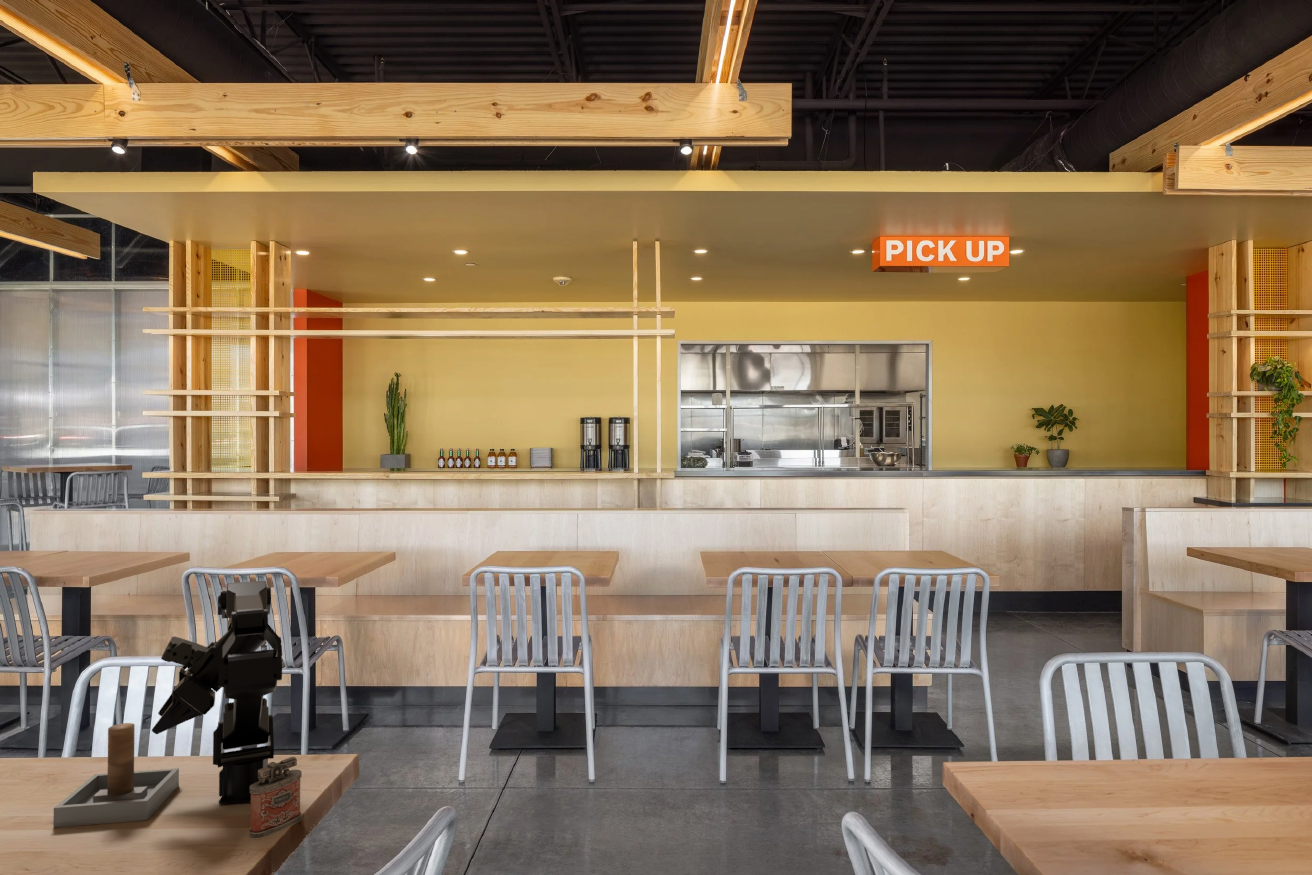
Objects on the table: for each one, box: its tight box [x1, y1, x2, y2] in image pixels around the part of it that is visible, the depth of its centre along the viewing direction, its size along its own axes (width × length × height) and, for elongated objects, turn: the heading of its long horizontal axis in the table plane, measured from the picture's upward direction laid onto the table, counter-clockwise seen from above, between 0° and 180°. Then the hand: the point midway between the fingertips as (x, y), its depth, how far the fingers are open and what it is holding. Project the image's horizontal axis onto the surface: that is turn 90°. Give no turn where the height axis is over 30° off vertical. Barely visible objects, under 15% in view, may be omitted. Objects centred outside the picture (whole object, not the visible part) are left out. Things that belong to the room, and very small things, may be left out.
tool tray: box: [52, 767, 180, 828], centre depth 130 cm, size 13×13×3 cm
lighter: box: [248, 756, 303, 840], centre depth 123 cm, size 8×3×10 cm, turn 148°
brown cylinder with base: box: [93, 722, 147, 803], centre depth 130 cm, size 7×4×12 cm, turn 102°
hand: (157, 723), depth 133 cm, fingers open, 9 cm apart
